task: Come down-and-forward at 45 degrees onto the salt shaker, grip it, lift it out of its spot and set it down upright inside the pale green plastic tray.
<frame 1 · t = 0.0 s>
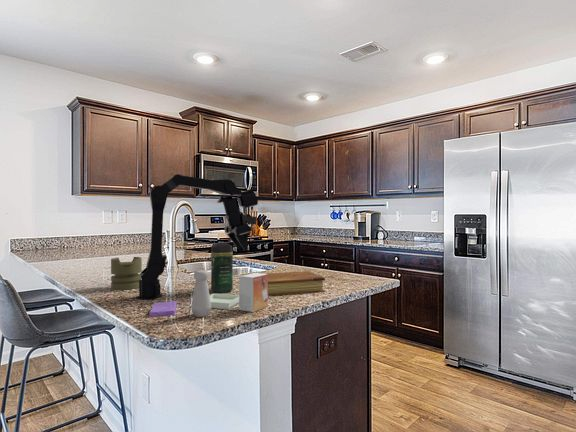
hand: (242, 249, 143), 15 cm above the counter, tool pointing down, fingers open, 9 cm apart
coffee jar: (222, 291, 140), on the counter
piston: (126, 288, 146), on the counter
sponges: (164, 312, 111), on the counter
small box: (253, 309, 113), on the counter
salt shaker: (201, 315, 105), on the counter
tray: (220, 303, 119), on the counter
diary: (288, 290, 143), on the counter
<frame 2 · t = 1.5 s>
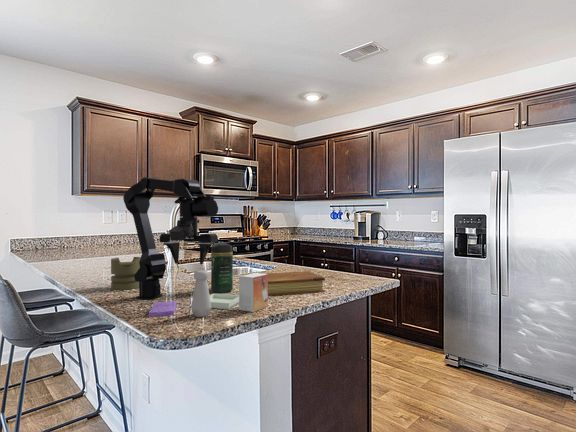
hand: (188, 263, 121), 13 cm above the counter, tool pointing down, fingers open, 9 cm apart
nothing on the counter moved.
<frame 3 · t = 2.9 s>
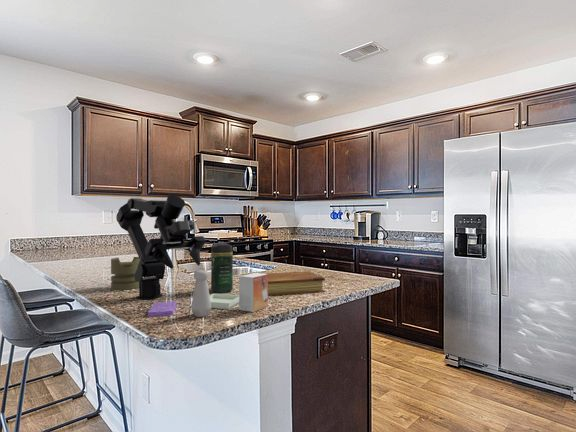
hand: (186, 266, 111), 13 cm above the counter, tool tilted 45°, fingers open, 9 cm apart
nothing on the counter moved.
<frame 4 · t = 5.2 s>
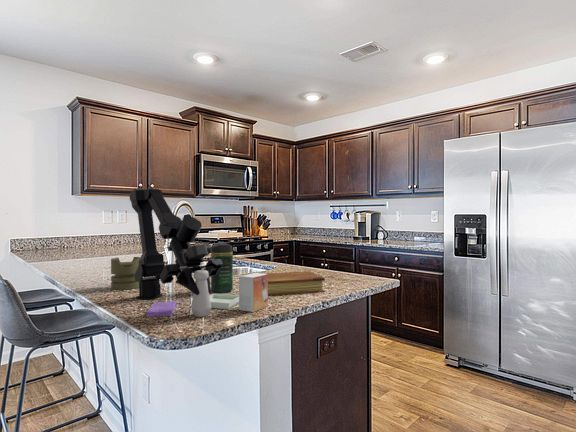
hand: (203, 293, 104), 7 cm above the counter, tool tilted 45°, fingers closed on salt shaker, 3 cm apart
salt shaker: (201, 315, 105), on the counter, touching gripper
everything else where it was.
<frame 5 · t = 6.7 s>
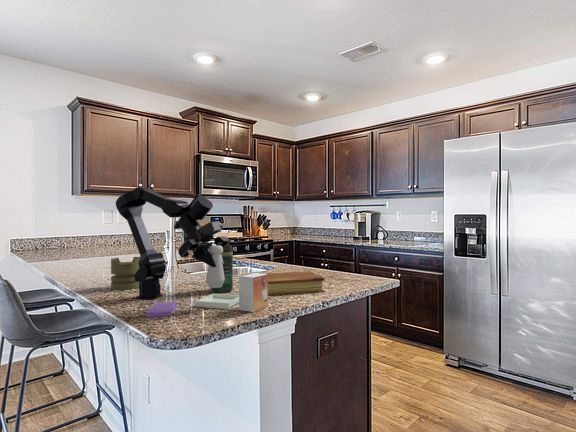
hand: (219, 266, 114), 13 cm above the counter, tool tilted 45°, fingers closed on salt shaker, 3 cm apart
salt shaker: (215, 287, 114), point 6 cm above the counter, touching gripper
everything else where it was.
when the fingers open (8 cm above the counter, at t = 8.2 s): salt shaker drops 1 cm, resting on tray.
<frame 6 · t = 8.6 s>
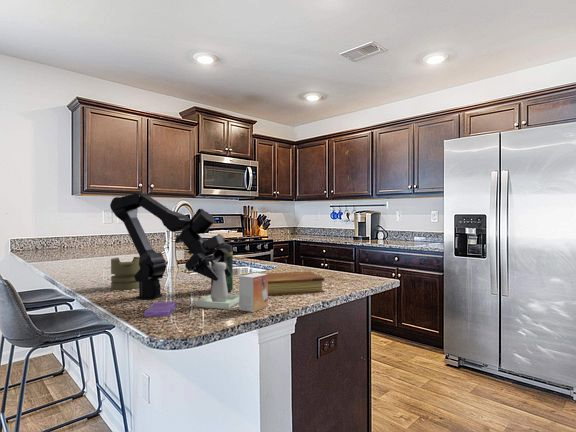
hand: (224, 277, 119), 9 cm above the counter, tool tilted 45°, fingers open, 8 cm apart
salt shaker: (219, 302, 119), resting on tray
everything else where it was.
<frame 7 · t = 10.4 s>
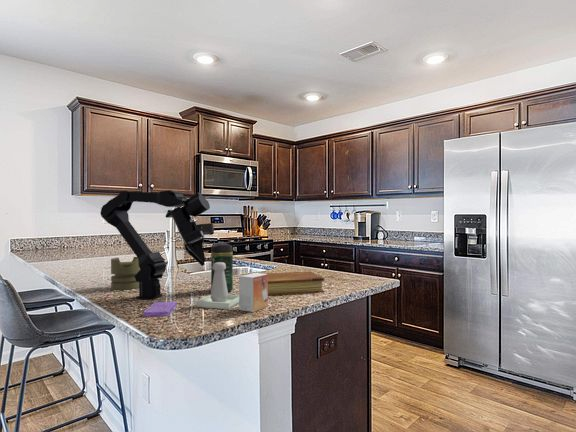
hand: (203, 263, 124), 13 cm above the counter, tool tilted 30°, fingers open, 9 cm apart
nothing on the counter moved.
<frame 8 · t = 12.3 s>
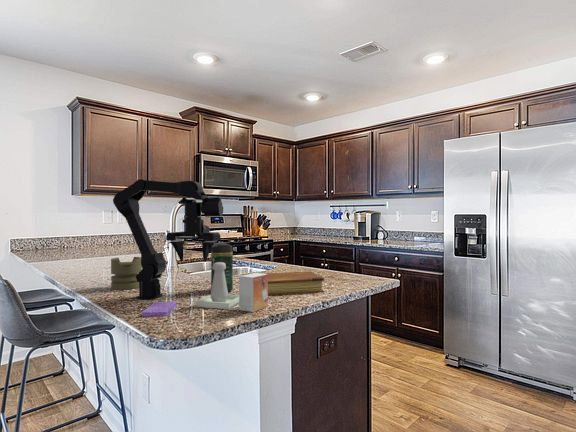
hand: (193, 261, 128), 13 cm above the counter, tool pointing down, fingers open, 9 cm apart
at the end: salt shaker inside the target area on the tray (0.3 cm from its centre), point 0.3 cm above the tray's base; salt shaker tilted 0°; the gripper is holding nothing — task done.
